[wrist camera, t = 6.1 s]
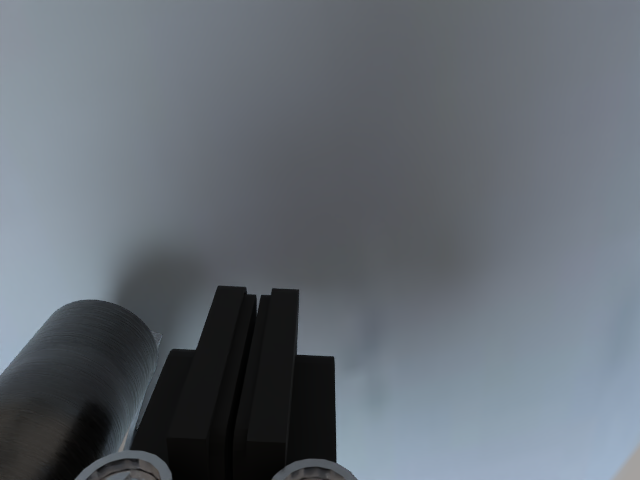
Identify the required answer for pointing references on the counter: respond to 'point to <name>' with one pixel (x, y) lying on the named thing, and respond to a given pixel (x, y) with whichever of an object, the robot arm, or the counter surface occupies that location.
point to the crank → (74, 391)
